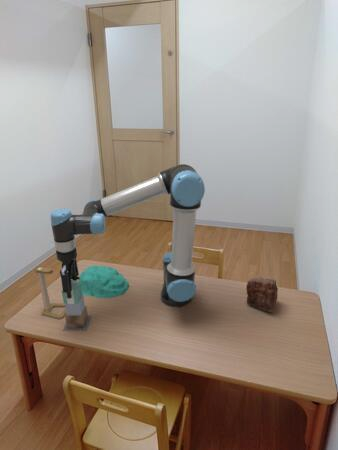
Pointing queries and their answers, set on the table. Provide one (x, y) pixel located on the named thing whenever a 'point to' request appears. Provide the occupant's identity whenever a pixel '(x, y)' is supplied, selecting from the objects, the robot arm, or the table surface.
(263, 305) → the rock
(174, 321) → the table surface
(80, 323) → the base block
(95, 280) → the decorative stone
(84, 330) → the coaster
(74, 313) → the gray block
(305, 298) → the table surface
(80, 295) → the teal block
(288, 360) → the table surface
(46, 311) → the headphone stand
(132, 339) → the table surface
